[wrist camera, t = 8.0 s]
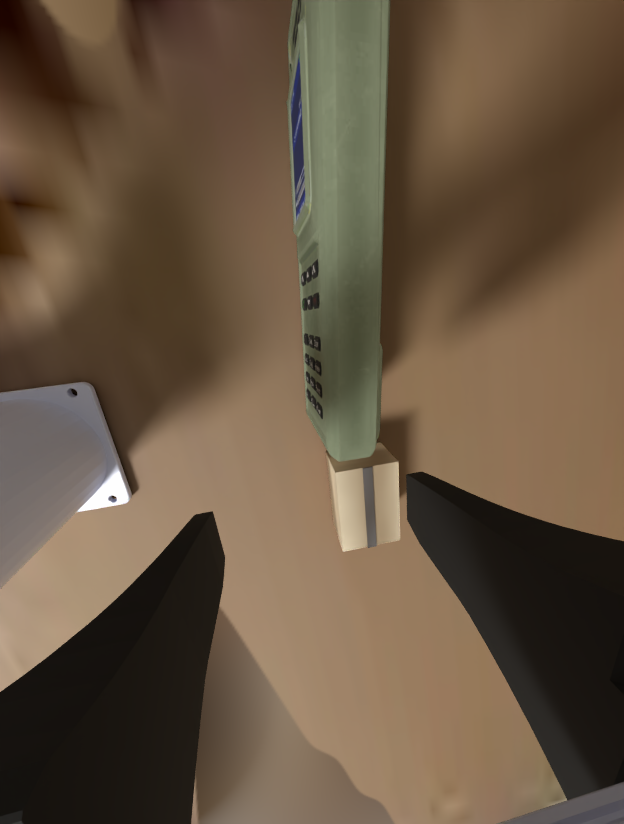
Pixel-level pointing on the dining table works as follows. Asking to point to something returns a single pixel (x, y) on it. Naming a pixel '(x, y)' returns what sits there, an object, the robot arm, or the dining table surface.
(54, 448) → the robot arm
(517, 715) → the dining table surface
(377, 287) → the handheld radio
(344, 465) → the taped cardboard parcel
